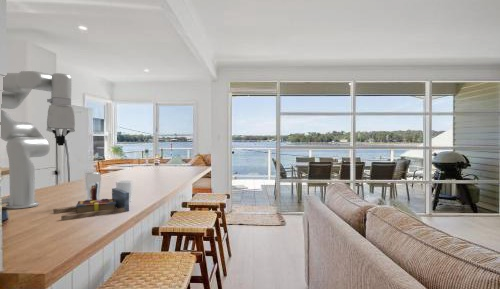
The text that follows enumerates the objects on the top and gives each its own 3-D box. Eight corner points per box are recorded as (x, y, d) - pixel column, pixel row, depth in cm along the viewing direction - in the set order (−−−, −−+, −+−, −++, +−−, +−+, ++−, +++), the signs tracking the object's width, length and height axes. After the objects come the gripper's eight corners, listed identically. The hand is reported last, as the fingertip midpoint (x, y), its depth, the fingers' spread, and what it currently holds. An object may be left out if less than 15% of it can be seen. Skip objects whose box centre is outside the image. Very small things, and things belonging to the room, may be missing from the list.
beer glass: (104, 203, 160) (104, 172, 159) (92, 206, 154) (92, 174, 153) (94, 202, 163) (94, 171, 162) (81, 205, 156) (81, 173, 156)
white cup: (135, 200, 169) (135, 180, 169) (128, 203, 161) (128, 182, 161) (120, 199, 170) (120, 180, 170) (112, 202, 162) (112, 182, 162)
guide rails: (62, 220, 128) (62, 199, 128) (53, 212, 140) (53, 193, 140) (128, 210, 145) (128, 192, 145) (115, 205, 157) (115, 188, 157)
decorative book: (77, 210, 146) (77, 199, 146) (117, 207, 153) (117, 197, 153) (76, 216, 136) (76, 204, 136) (118, 213, 143) (118, 201, 143)
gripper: (42, 100, 136) (41, 145, 137) (82, 103, 146) (81, 145, 146) (39, 101, 142) (39, 144, 143) (78, 104, 152) (77, 145, 152)
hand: (60, 145), depth 145 cm, fingers closed
